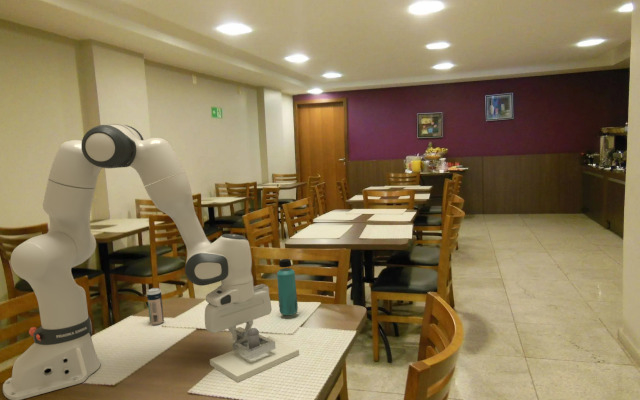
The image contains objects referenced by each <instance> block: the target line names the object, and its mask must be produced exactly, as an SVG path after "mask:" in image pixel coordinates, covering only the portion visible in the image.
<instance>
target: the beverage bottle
mask: <svg viewBox="0 0 640 400" xmlns="http://www.w3.org/2000/svg"><path fill="white" fill-rule="evenodd" d="M291 266H292V263H291V259H290V258H283V259H280V260H279V265H278V267H280V269H279V271H277V272H276V276H277V277H276V279H277V295H278V308H279V313H280V314H281V315H283V316H285V315H286V316H291V315H294V314H295V315H296V314H297V313H298V310H299V307H298V304H299V303H298V297H297V296H298V294H297V282H296V272H295V270H294V269H292V268H289V267H291Z"/></svg>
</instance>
